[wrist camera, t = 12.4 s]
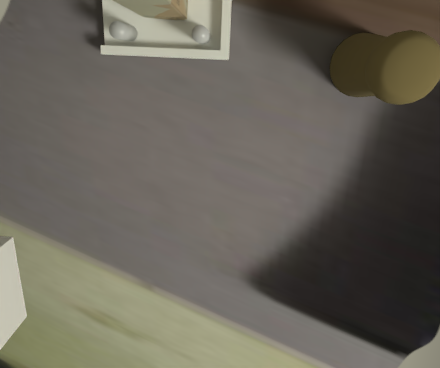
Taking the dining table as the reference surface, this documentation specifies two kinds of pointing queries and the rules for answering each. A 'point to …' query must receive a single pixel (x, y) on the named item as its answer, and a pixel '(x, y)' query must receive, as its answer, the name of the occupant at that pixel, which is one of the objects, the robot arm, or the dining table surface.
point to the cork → (387, 66)
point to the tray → (169, 32)
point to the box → (158, 8)
